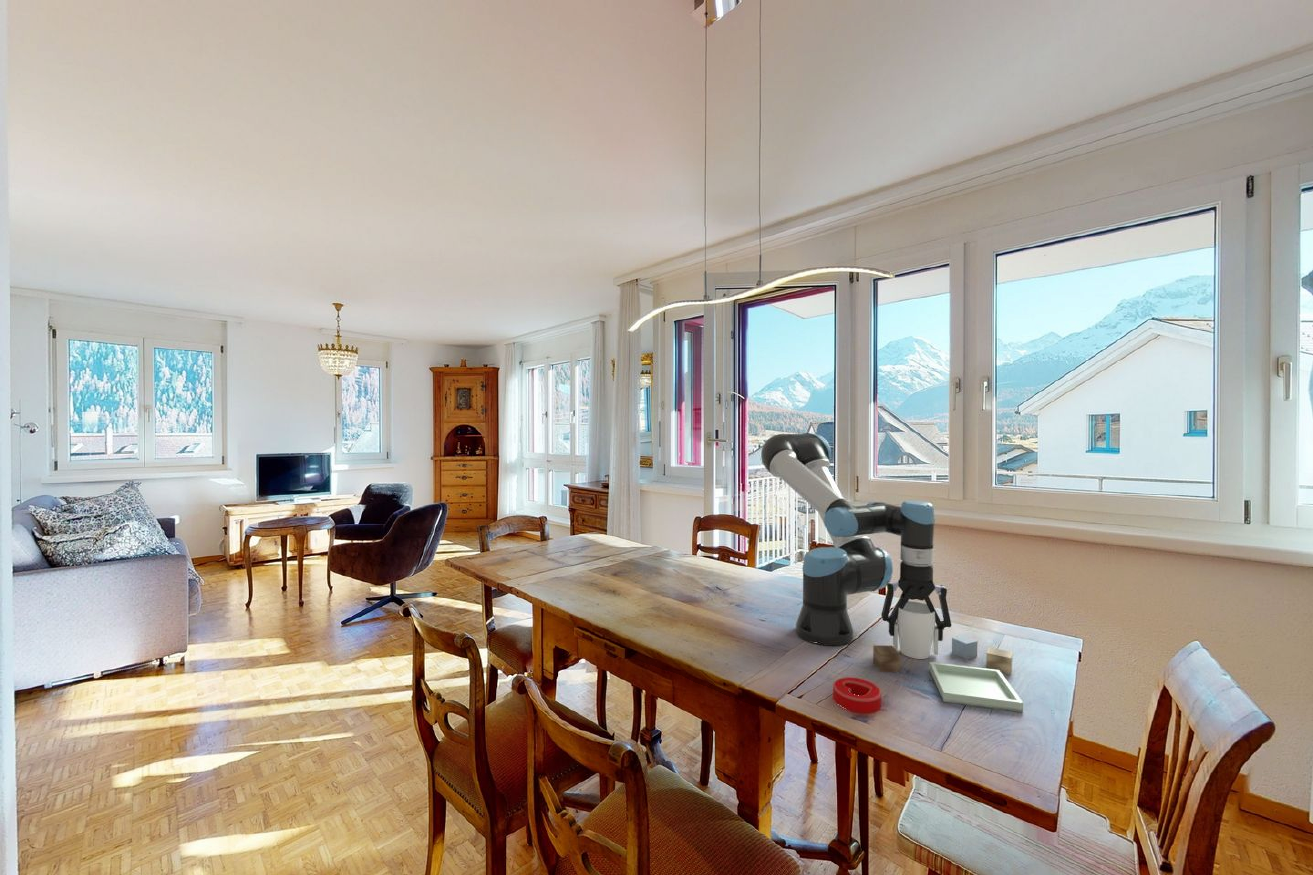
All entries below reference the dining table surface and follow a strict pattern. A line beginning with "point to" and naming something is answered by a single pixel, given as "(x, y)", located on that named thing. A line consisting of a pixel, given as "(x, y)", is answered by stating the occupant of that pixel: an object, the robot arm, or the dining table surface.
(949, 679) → the tray
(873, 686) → the decorative ornament
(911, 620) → the cup
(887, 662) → the walnut block
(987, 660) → the oak block
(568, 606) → the dining table surface
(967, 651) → the slate blue block
